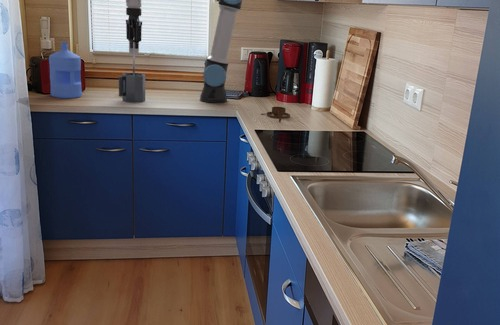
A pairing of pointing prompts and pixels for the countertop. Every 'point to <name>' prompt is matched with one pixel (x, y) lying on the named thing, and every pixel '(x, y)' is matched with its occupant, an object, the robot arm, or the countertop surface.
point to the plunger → (133, 57)
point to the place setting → (278, 113)
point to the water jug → (65, 73)
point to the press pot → (132, 87)
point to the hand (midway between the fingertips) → (133, 54)
